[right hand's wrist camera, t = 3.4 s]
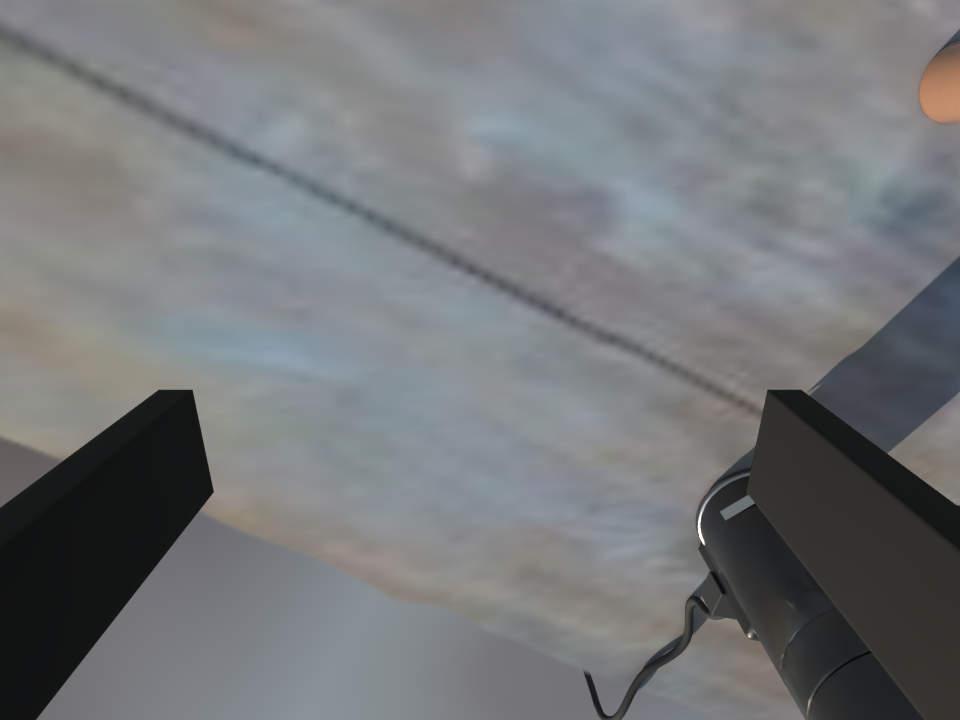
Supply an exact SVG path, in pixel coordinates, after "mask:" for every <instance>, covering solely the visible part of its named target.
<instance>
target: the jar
mask: <svg viewBox="0 0 960 720" xmlns="http://www.w3.org/2000/svg"><path fill="white" fill-rule="evenodd" d="M919 99H920V104H921V106H922V109H923V110H924V112H925V113H926V115H927V116H928V117H930V118H931V119H933V120H934V121H937V122H940V123H960V40H959V41H956V42H954V43H952V44H950V45H948V46H947V47H945V48H944V49H943V50H941V51H940V52H939V53H938V54H937V55H936V56H935V57H934V58H933V59H932V61H931V62H930V63H929V65H928V66H927V68H926V70H925V72H924V74H923V77H922V80H921V83H920V89H919Z"/></svg>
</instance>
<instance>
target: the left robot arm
mask: <svg viewBox="0 0 960 720" xmlns="http://www.w3.org/2000/svg"><path fill="white" fill-rule="evenodd" d="M750 472H751V469H750V470H745V471H741V472H738V473H735V474H733V475H731V476H728V477H727V478H725V479H723V480H722V481H720V482H719V483H717V484H716V485H715V486H714V487H713V488H711V490H710V491H709V492H708V493H707V494H706V495H705V497H704V498H703V500H702V501H701V503H700V505H699V508H698V511H697V515H696V528H697V532H698V535H699V537H700V539H701V544H700V546H699V551H700V553H701V555H702V557H703V558H704V560H705V562H706V564H707V566H708V568H709V569H710V572H709V574H708V576H707V578H706V580H705V582H704V584H703V587H702V589H701V591H700V593H701V595H702V597H703V599H704V601H705V603H706V605H707V606H706V605H705V604H704V602H703V601H702V600H701V599H700V598H698V597H696V596H693V597H691V598H689V599H688V600H687V602H686V606H685V631H684V635H683V637H682V639H681V641H680V642H679V643H678V645H677V646H676V647H675V648H673V649H672V650H671V651H669V652H668V653H666V654H665V655H663V656H661V657H660V658H658V659H656V660H655V661H653V662H652V663H650V664H649V665H647V666H646V667H645V668H644V669H643V670H642V671H641V672H640V673H639V674H638V675H637V677H636V678H635V679H634V681H633V682H632V684H631V686H630V688H629V690H628V692H627V694H626V696H625V698H624V700H623V702H622V704H621V706H620V708H619V709H618V711H617V712H616V713H615V714H614V715H613V716H607V715H606V714H605V713H604V712H603V710H602V707H601V704H600V701H599V698H598V695H597V692H596V688H595V685H594V683H593V680H592V677H591V674H590V673H588V672H586V671H583V672H584V675H585V678H586V681H587V684H588V687H589V690H590V694H591V697H592V701H593V704H594V707H595V710H596V712H597V714H598V716H599V718H600V719H601V720H621V719H622V718H623V717H624V715H625V713H626V712H627V710H628V708H629V706H630V704H631V702H632V700H633V698H634V696H635V694H636V692H637V690H638V688H639V687H640V685H641V684H642V682H643V681H644V680H645V679H646V678H647V677H648V676H649V675H650V674H651V673H652V672H654V671H655V670H656V669H658V668H660V667H661V666H663V665H665V664H666V663H668V662H670V661H671V660H673V659H674V658H676V657H677V656H679V655H680V654H681V653H682V652H683V651H684V650H685V649H686V647H687V646H688V644H689V643H690V640H691V637H692V632H693V608H694V605H696V606H697V607H698V609H699V610H700V611H701V613H702V614H703V615H704V616H706V617H707V618H709V619H713V620H719V619H723V618H730V619H736V620H738V622H739V624H740V626H741V628H742V629H743V631H744V633H745V635H746V636H747V637H748V638H750V639H751V640H755V641H760V642H761V643H762V645H763V647H764V649H765V650H766V652H767V654H768V656H769V657H770V659H771V661H772V663H773V664H774V666H775V668H776V670H777V671H778V673H779V675H780V677H781V678H782V680H783V682H784V684H785V685H786V687H787V688H788V690H789V692H790V694H791V695H792V697H793V699H794V701H795V702H796V704H797V706H798V708H799V709H800V711H801V713H802V715H803V716H804V718H805V720H924V719H923V718H922V716H921V715H920V714H919V713H918V711H917V710H916V709H915V707H914V706H913V705H912V704H911V702H910V701H909V700H908V699H907V697H906V696H905V695H904V693H903V692H902V691H901V690H900V688H899V687H898V686H897V684H896V683H895V682H894V681H893V679H892V678H891V677H890V675H889V674H888V673H887V672H886V670H885V669H884V668H883V667H882V665H881V664H880V663H879V661H878V660H877V659H876V658H875V656H874V655H873V654H872V652H871V651H870V650H869V649H868V647H867V646H866V645H865V643H864V642H863V641H862V640H861V638H860V637H859V636H858V635H857V633H856V632H855V631H854V629H853V628H852V627H851V626H850V624H849V623H848V622H847V620H846V619H845V618H844V617H843V615H842V614H841V613H840V611H839V610H838V609H837V608H836V606H835V605H834V604H833V602H832V601H831V600H830V599H829V597H828V596H827V595H826V594H825V592H824V591H823V590H822V588H821V587H820V586H819V585H818V583H817V582H816V581H815V579H814V578H813V577H812V576H811V574H810V573H809V572H808V570H807V569H806V568H805V567H804V565H803V564H802V563H801V562H800V560H799V559H798V558H797V556H796V555H795V554H794V553H793V551H792V550H791V549H790V547H789V546H788V545H787V544H786V542H785V541H784V540H783V538H782V537H781V536H780V535H779V533H778V532H777V531H776V529H775V528H774V527H773V526H772V524H771V523H770V522H769V521H768V519H767V518H766V517H765V515H764V514H763V513H762V512H761V510H760V509H759V508H758V506H757V505H756V504H755V503H754V501H753V500H752V499H751V497H750V496H749V495H748V494H747V492H746V491H747V486H748V481H749V476H750ZM707 607H708V608H707Z"/></svg>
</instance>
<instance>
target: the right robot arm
mask: <svg viewBox="0 0 960 720" xmlns="http://www.w3.org/2000/svg"><path fill="white" fill-rule="evenodd" d="M213 492H214V491H213V486H212V481H211V476H210V472H209V467H208V462H207V457H206V452H205V448H204V443H203V438H202V433H201V428H200V424H199V419H198V414H197V409H196V404H195V400H194V395H193V390H158V391H157V392H155V393H154V394H153V395H151V396H150V397H149V398H147V399H146V400H145V401H143V402H142V403H141V404H139V405H138V406H137V407H135V408H134V409H132V410H131V411H130V412H128V413H127V414H126V415H124V416H123V417H122V418H120V419H119V420H118V421H116V422H115V423H114V424H112V425H111V426H110V427H108V428H107V429H106V430H104V431H103V432H102V433H100V434H99V435H98V436H96V437H95V438H93V439H92V440H91V441H89V442H88V443H87V444H85V445H84V446H83V447H81V448H80V449H79V450H77V451H76V452H75V453H73V454H72V455H71V456H69V457H68V458H67V459H65V460H64V461H63V462H61V463H60V464H59V465H57V466H56V467H55V468H53V469H52V470H50V471H49V472H48V473H46V474H45V475H44V476H42V477H41V478H40V479H38V480H37V481H36V482H34V483H33V484H32V485H30V486H29V487H28V488H26V489H25V490H24V491H22V492H21V493H20V494H18V495H17V496H15V497H14V498H13V499H11V500H10V501H9V502H7V503H6V504H5V505H3V506H2V507H1V508H0V720H36V719H37V718H38V716H39V715H40V714H41V713H42V711H43V710H44V709H45V707H46V706H47V705H48V704H49V702H50V701H51V700H52V699H53V697H54V696H55V695H56V693H57V692H58V691H59V690H60V688H61V687H62V686H63V684H64V683H65V682H66V681H67V679H68V678H69V677H70V675H71V674H72V673H73V672H74V670H75V669H76V668H77V666H78V665H79V664H80V663H81V661H82V660H83V659H84V658H85V656H86V655H87V654H88V652H89V651H90V650H91V649H92V647H93V646H94V645H95V643H96V642H97V641H98V640H99V638H100V637H101V636H102V634H103V633H104V632H105V631H106V629H107V628H108V627H109V626H110V624H111V623H112V622H113V620H114V619H115V618H116V617H117V615H118V614H119V613H120V611H121V610H122V609H123V608H124V606H125V605H126V604H127V602H128V601H129V600H130V599H131V597H132V596H133V595H134V593H135V592H136V591H137V590H138V588H139V587H140V586H141V585H142V583H143V582H144V581H145V579H146V578H147V577H148V576H149V574H150V573H151V572H152V570H153V569H154V568H155V567H156V565H157V564H158V563H159V561H160V560H161V559H162V558H163V556H164V555H165V554H166V553H167V551H168V550H169V549H170V547H171V546H172V545H173V544H174V542H175V541H176V540H177V538H178V537H179V536H180V535H181V533H182V532H183V531H184V529H185V528H186V527H187V526H188V524H189V523H190V522H191V521H192V519H193V518H194V517H195V515H196V514H197V513H198V512H199V510H200V509H201V508H202V506H203V505H204V504H205V503H206V501H207V500H208V499H209V497H210V496H211V495H212V494H213ZM746 492H747V494H748V495H749V496H750V497H751V499H752V500H753V501H754V503H755V504H756V505H757V506H758V508H759V509H760V510H761V512H762V513H763V514H764V515H765V517H766V518H767V519H768V521H769V522H770V523H771V524H772V526H773V527H774V528H775V529H776V531H777V532H778V533H779V535H780V536H781V537H782V538H783V540H784V541H785V542H786V544H787V545H788V546H789V547H790V549H791V550H792V551H793V553H794V554H795V555H796V556H797V558H798V559H799V560H800V562H801V563H802V564H803V565H804V567H805V568H806V569H807V570H808V572H809V573H810V574H811V576H812V577H813V578H814V579H815V581H816V582H817V583H818V585H819V586H820V587H821V588H822V590H823V591H824V592H825V594H826V595H827V596H828V597H829V599H830V600H831V601H832V602H833V604H834V605H835V606H836V608H837V609H838V610H839V611H840V613H841V614H842V615H843V617H844V618H845V619H846V620H847V622H848V623H849V624H850V626H851V627H852V628H853V629H854V631H855V632H856V633H857V635H858V636H859V637H860V638H861V640H862V641H863V642H864V643H865V645H866V646H867V647H868V649H869V650H870V651H871V652H872V654H873V655H874V656H875V658H876V659H877V660H878V661H879V663H880V664H881V665H882V667H883V668H884V669H885V670H886V672H887V673H888V674H889V675H890V677H891V678H892V679H893V681H894V682H895V683H896V684H897V686H898V687H899V688H900V690H901V691H902V692H903V693H904V695H905V696H906V697H907V699H908V700H909V701H910V702H911V704H912V705H913V706H914V707H915V709H916V710H917V711H918V713H919V714H920V715H921V716H922V718H923V719H924V720H960V505H955V504H954V503H953V502H951V501H950V500H949V499H947V498H946V497H945V496H943V495H942V494H940V493H939V492H938V491H936V490H935V489H934V488H932V487H931V486H930V485H928V484H927V483H926V482H924V481H923V480H922V479H920V478H919V477H918V476H916V475H915V474H914V473H912V472H911V471H910V470H908V469H907V468H906V467H904V466H903V465H901V464H900V463H899V462H897V461H896V460H895V459H893V458H892V457H891V456H889V455H888V454H887V453H885V452H884V451H883V450H881V449H880V448H879V447H877V446H876V445H875V444H873V443H872V442H871V441H869V440H868V439H867V438H865V437H864V436H862V435H861V434H860V433H858V432H857V431H856V430H854V429H853V428H852V427H850V426H849V425H848V424H846V423H845V422H844V421H842V420H841V419H840V418H838V417H837V416H836V415H834V414H833V413H832V412H830V411H829V410H828V409H826V408H825V407H823V406H822V405H821V404H819V403H818V402H817V401H815V400H814V399H813V398H811V397H810V396H809V395H807V394H806V393H805V392H803V391H802V390H767V395H766V400H765V404H764V409H763V414H762V419H761V424H760V428H759V433H758V438H757V443H756V448H755V452H754V457H753V462H752V467H751V472H750V476H749V481H748V486H747V491H746Z"/></svg>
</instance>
